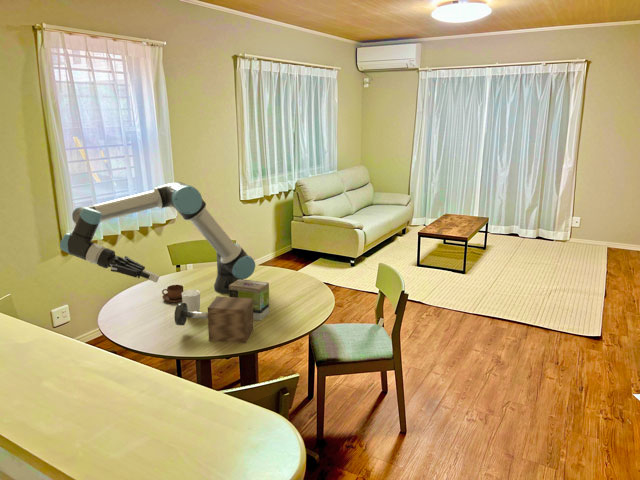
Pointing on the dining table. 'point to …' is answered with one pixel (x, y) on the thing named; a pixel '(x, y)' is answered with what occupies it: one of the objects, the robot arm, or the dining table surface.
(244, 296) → the tea box
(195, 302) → the white cup
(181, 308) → the plunger
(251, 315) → the brown wooden open box
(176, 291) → the cup and saucer
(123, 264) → the robot arm
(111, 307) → the dining table surface
